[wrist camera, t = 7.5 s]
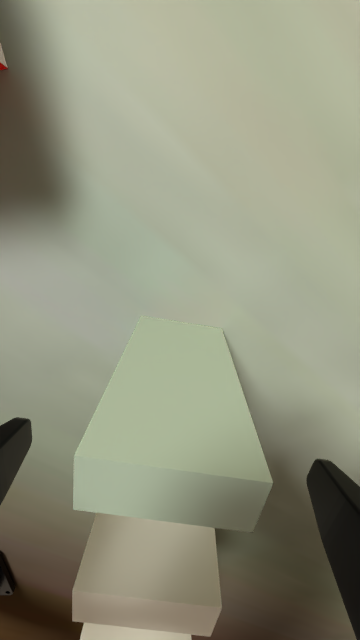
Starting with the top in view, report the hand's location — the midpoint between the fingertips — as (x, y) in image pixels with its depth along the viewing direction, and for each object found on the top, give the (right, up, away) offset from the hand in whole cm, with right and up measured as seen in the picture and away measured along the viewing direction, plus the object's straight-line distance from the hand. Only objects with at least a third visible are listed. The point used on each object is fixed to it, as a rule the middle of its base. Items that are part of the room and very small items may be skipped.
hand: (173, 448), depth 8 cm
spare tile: (0, +3, +8) cm, 9 cm away
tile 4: (-1, -3, +10) cm, 10 cm away
